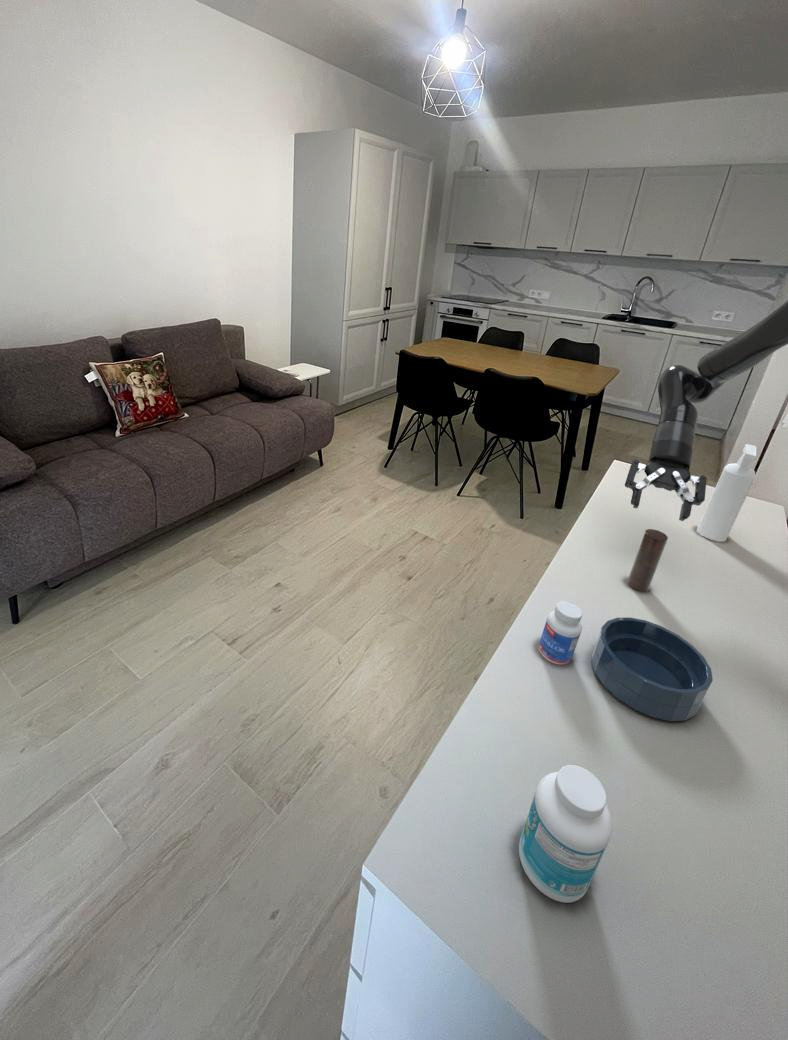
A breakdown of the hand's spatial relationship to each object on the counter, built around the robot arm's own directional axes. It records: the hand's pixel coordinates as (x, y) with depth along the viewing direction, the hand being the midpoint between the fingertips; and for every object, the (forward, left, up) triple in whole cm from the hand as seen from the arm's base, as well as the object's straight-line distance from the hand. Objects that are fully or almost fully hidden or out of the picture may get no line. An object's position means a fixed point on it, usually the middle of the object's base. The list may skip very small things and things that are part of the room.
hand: (658, 513), depth 104 cm
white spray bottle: (-6, -36, -15) cm, 39 cm away
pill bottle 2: (-15, +69, -15) cm, 73 cm away
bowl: (-12, +32, -15) cm, 38 cm away
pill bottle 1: (0, +38, -15) cm, 41 cm away
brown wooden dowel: (-2, +5, -15) cm, 16 cm away
